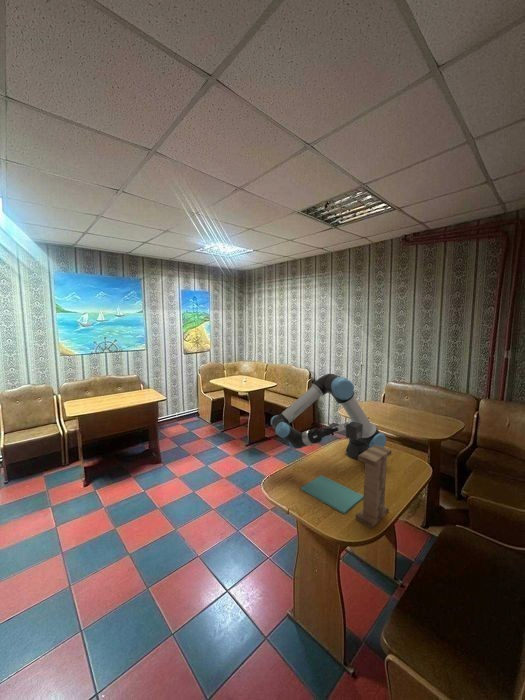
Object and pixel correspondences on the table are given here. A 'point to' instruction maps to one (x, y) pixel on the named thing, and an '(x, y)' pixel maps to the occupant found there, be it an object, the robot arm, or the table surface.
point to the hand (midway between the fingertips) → (346, 425)
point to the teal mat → (332, 494)
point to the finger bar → (350, 430)
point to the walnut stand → (374, 485)
